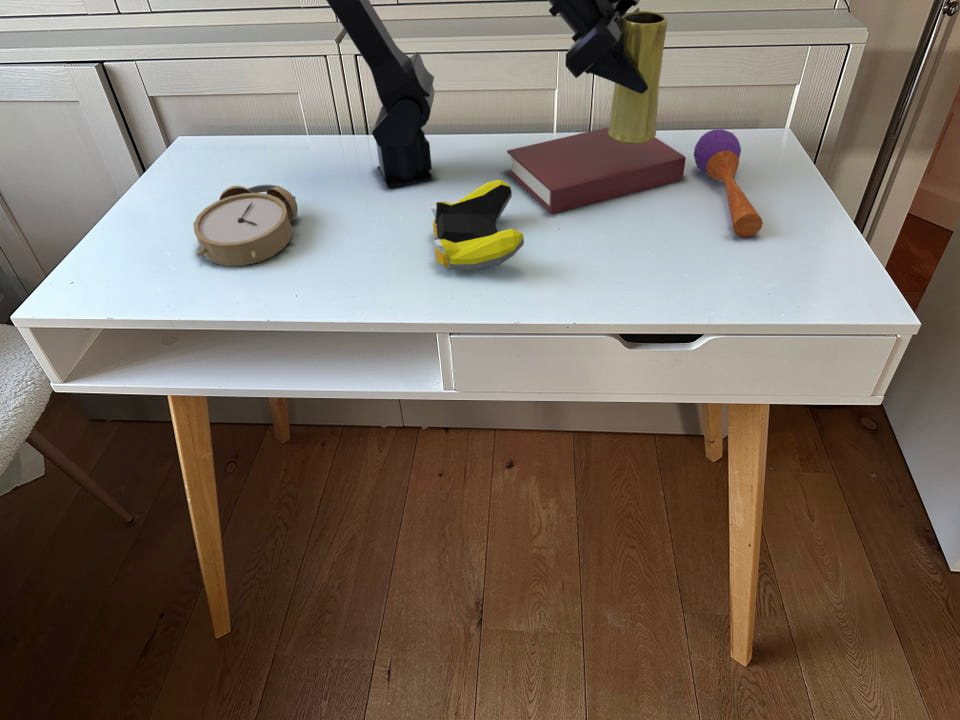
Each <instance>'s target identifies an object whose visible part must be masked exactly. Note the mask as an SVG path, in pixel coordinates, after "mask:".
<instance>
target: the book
mask: <svg viewBox="0 0 960 720" xmlns="http://www.w3.org/2000/svg"><path fill="white" fill-rule="evenodd" d="M609 127H610V126H607V127H603V128H599V129H595V130H594V129H593V130H590V131H586V132H581V133H577V134H573V135H568V136H565V137H560V138H556V139H550V140H546V141H542V142H537V143H533V144H529V145H525V146H519V147H516V148H511V149H507V150H506V153H507V154H508V155H509V156H510V159H511V160H510V161H511V166H510V167H511V169H509V170H507V174H508V175H509V176H510V177H511V178H512V179H514V180H515V182H516V183H518V184H519V185H520V187H522V188H523V190H525V191H526V192H527V193H528V194H529V195H531V196H532V198H534V199H535V201H537V202H538V203H539V204H540V205H541V206H542V207H543V208H544V209H545V210H546V211H547V212H549V214H550V215H554V214H558V213H561V212H566V211H568V210H573V209H576V208H580V207H584V206H588V205H592V204H596V203H599V202H604V201H607V200H611V199H615V198H619V197H622V196H626V195H630V194H633V193H638V192H642V191H646V190H649V189H653V188H656V187H660V186H665V185H668V184H672V183H676V182H679V181H683V179H684V172H685V166H686V160H687V157H686V156H685V155H684V154H682V153H681V152H679V151H677V150H676V149H674V148H673V147H671V146H670V145H668V144H667V143H665V142H663V141H662V140H660V139H659V138H657V137H656V136H655V137H654V138H653V139H652V140H650V141H648V142H645V143H639V144H628V143H622V142H619V141H616V140H614V139H612V138H611V137H610V136H609V134H608V130H609Z"/></svg>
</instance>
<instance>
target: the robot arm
mask: <svg viewBox="0 0 960 720" xmlns="http://www.w3.org/2000/svg"><path fill="white" fill-rule="evenodd" d="M326 2H327V4H328V5H329V7H330V9H331V10H332V12H333V13H334V14H335V17H336V18H337V19H338V21H339V23H340V24H341V26H342V27H343V29H344V30H345V32H346V34H347V35H348V36H349V38H350V39H351V41H352V43H353V44H354V46H355V48H356V49H357V51H358V52H359V54H360V55H361V57H362V59H363V60H364V62H365V63H366V64H367V66H368V67H369V69H370V73H371V75H372V78H373V82H374V85H375V90H376V92H377V96H378V99H379V101H380V103H381V105H382V106H381V107H380V110H379V112H378V115H377V117H376V121H375V123H374V126H373V128H372V130H371V131H372V132H371V134H372V136H373V138H374V140H375V143H376V151H377V157H378V164H379V165H377V172H378V174H379V176H380V177H381V179H382V181H383V183H384V184H385V187H386V188H387V189H392V188H397V187H402V186H408V185H411V184H418V183H422V182H427V181H431V180H433V175H432V174H431V170H432V169H433V167H432V158H431V157H432V155H431V146H430V142H429V140H428V139H427V137H426V134H425V131H424V130H423V129H422V128H423V127H424V126H426V125H427V123H428V122H429V120H430V116H431V112H432V107H433V104H434V99H435V92H436V91H435V87H434V85H433V84H434V81H435V76H434V75H433V74H431V73H430V72H429V70H428V69H427V68H426V66H425V63H424V61H423V59H422V56H421V55H420V53H419V52H418V51H416V52H415V53H414V54H412V55H411V56H408V55H407V54H406V53H405V52H404V51H403V50H401V49H400V48H399V47H398V46H397V44H396V42H395V40H394V39H393V37H392V36H391V34H390V32H389V30H388V29H387V28H386V26H385V24H384V23H383V21H382V20H381V18H380V16H379V15H378V13H377V11H376V10H375V7H374V6H373V4H372V2H371V1H370V0H326ZM547 2H548V3H549V4H550V5H551V7H550V8H549V9H548V12H549V13H550V15H552V17H553V18H555V17H557V15H559V16H560V17H561V19H562V20H563V21H564V22H565V23H566V25H567V26H568V27H569V28H570V29H571V31H572V32H573V34H572V36H571V40H572V41H573V42H574V43H573V44H571V46H570V47H569V49H568V50H567V52H566V53H565V67H566V68H567V70H568V71H569V72H570V73H571V75H572V76H573V77H574V78H575V79H577V78H579V77H580V76H582V74H583V73H585V74H587V75H588V74H592V75H593V76H594V75H595V76H598V77H599V78H602V79H605V80H607V81H610V82H612V83H614V84H615V83H617V84H619V85H622V86H624V87H626V88H629V89H631V90H633V91H635V92H638V93H640V94H643V93H644V92H645V91H646V90H648V85H647V83H646V81H645V80H644V78H643V76H642V74H641V73H640V71H639V69H638V68H637V66H636V64H635V62H634V61H633V59H632V57H631V56H630V54H629V52H628V51H627V37H628V30H626V31H625V32H624V33H623V34H622V35H621V22H622V16H623V15H625V14H627V13H629V12H628V11H629V10H630V9H631V8H632V7H636V6H637V5H638V4H639V2H640V0H547ZM639 11H641V9H640V7H637V8H636V9H635V10H633V12H639ZM620 35H621V36H620Z"/></svg>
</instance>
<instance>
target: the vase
mask: <svg viewBox="0 0 960 720" xmlns="http://www.w3.org/2000/svg"><path fill="white" fill-rule="evenodd" d="M667 26H668V18H667V16H665V14H663V13H660V12H656V11H647V10H645V11H643V10H640V11H639V12H634V11H631V12H628V13H627V14H625V15H623V16H622V22H621V35H622V34H623V33H624V32H625V31H626V30H628V37H627V51H628V52H629V54H630V56H631V57H632V59H633V61H634V62H635V64H636V66H637V68H638V69H639V71H640V73H641V74H642V76H643V78H644V80H645V81H646V83H647V85H648V90H646V91H645V92H644V93H643V94H640V93H638V92H635V91H633V90H631V89H629V88H626V87H624V86H622V85H619V84H617V83H615V82H614V88H613V95H612V102H611V111H610V119H609V120H610V121H609V126H608V127H609V130H608V134H609V136H610V137H611V138H612V139H614V140H616V141H619V142H622V143H628V144H639V143H645V142H648V141H650V140H652V139H653V138H654V137H656V135H657V119H658V108H659V107H658V106H659V90H660V88H659V87H660V77H661V73H662V72H661V71H662V66H663V65H662V64H663V56H664V47H665V40H666V35H667V34H666V33H667ZM621 35H620V36H621Z"/></svg>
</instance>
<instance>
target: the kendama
mask: <svg viewBox="0 0 960 720" xmlns="http://www.w3.org/2000/svg"><path fill="white" fill-rule="evenodd" d="M741 153H742V148H741V143H740V141H739V139H738V138H737V136H736V135H735V133H733V132H730V131H728V130H726V129H721V128H719V129H711V130H709V131H707V132H705V133H704V134H703V135H702V136H700V137H699V139H698V141H697V142H696V144H695V147H694V151H693V158H694V161H695V162H694V163H695V164H696V167H697V168H698V169H699V170H700V171H701V172H702V173H704V174H706V175H708V176H709V177H710V178H711V179H714V180H717V181H720V182H722V183H724V187H725V193H726V198H727V203H728V208H729V209H728V210H729V214H730V221H731V225H732V230H733V233H734V234H735V235H736V236H737V237H740V238H750V237H753V236H756V234H758V233H759V232H760V231H761V230H762V227H763V224H764V223H763V219H762V217H761V216H760V215H759V212H758V211H757V210H756V209H755V207H754V206H753V204H752V203H751V201H750V200H749V198H748V197H747V196H746V194H745V193H744V191H743V190H742V188H741V187H740V185H738V183H737V182H736V180H735V176H736V173H737V170H738V168H739V164H740V156H741Z"/></svg>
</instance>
